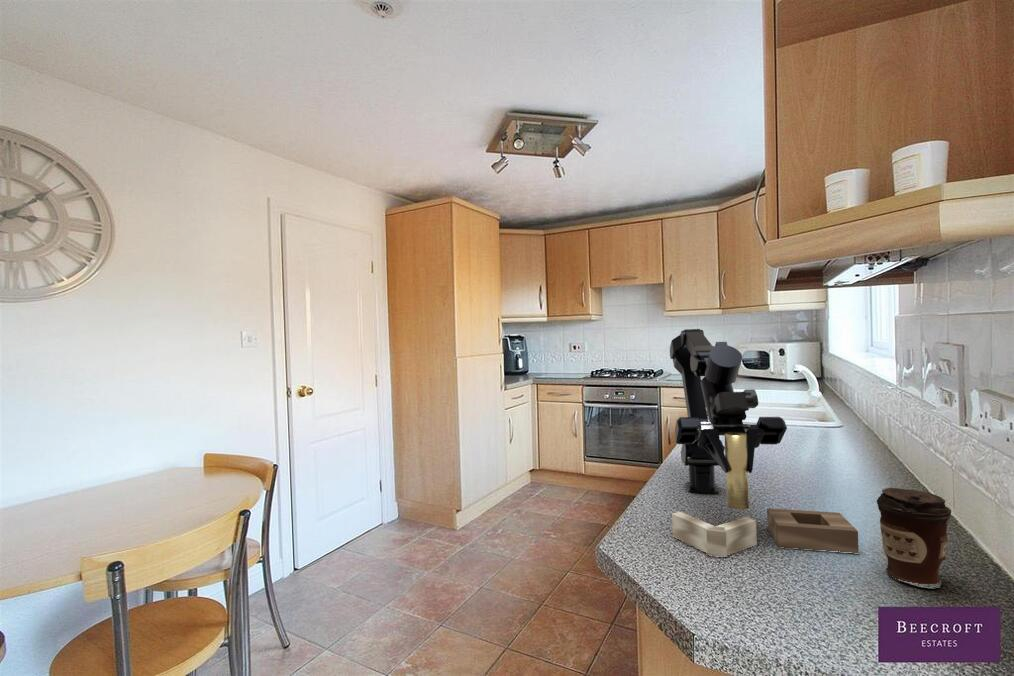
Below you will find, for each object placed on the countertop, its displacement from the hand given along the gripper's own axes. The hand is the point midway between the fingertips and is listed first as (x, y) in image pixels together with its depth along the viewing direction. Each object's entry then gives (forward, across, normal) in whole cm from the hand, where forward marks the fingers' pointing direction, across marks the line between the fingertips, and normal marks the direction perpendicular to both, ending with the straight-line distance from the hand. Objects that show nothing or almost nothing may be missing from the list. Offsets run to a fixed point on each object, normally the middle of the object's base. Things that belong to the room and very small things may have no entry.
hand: (738, 471), depth 83 cm
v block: (+10, -5, +9) cm, 14 cm away
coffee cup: (+16, +22, +4) cm, 27 cm away
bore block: (+7, +13, +12) cm, 19 cm away
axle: (+4, 0, +6) cm, 7 cm away
